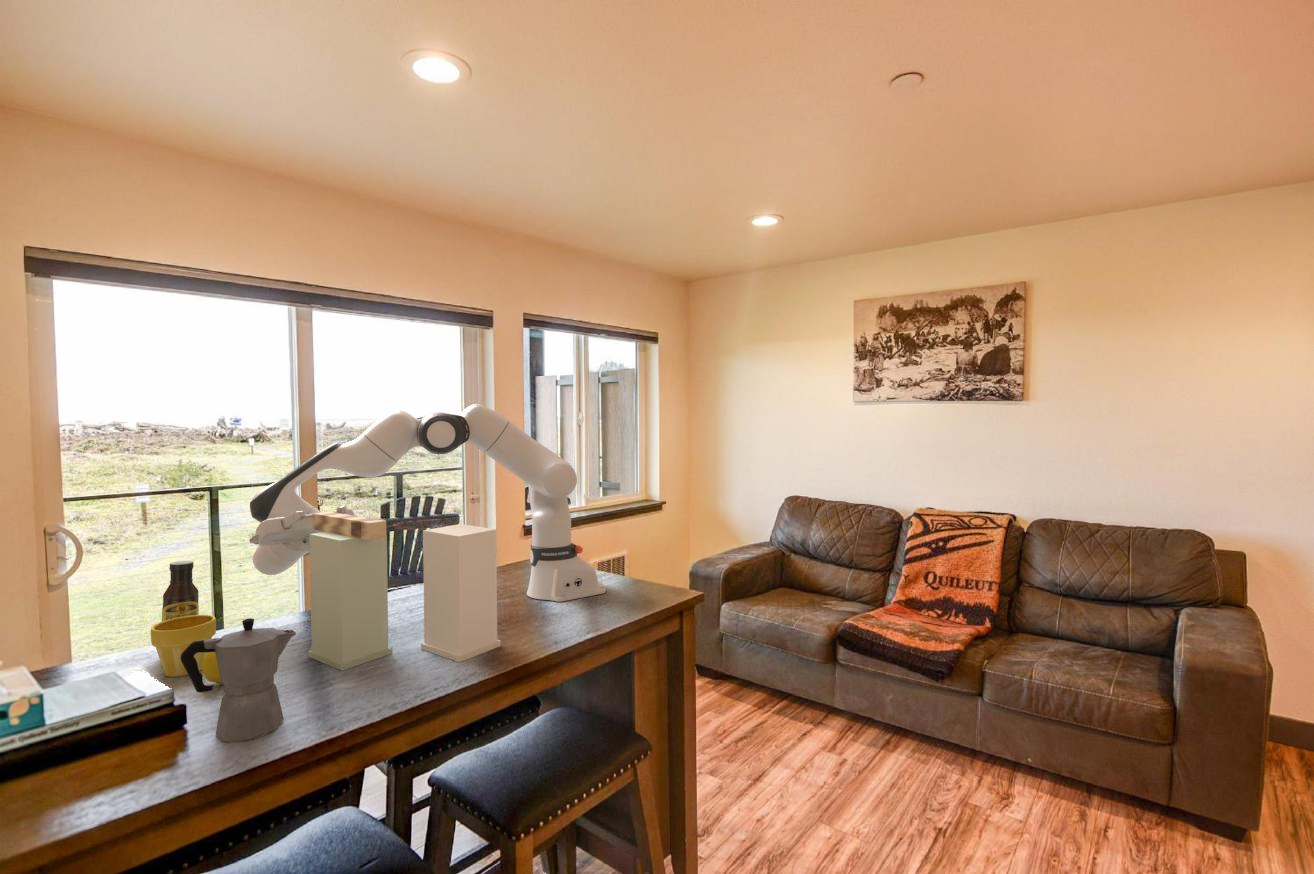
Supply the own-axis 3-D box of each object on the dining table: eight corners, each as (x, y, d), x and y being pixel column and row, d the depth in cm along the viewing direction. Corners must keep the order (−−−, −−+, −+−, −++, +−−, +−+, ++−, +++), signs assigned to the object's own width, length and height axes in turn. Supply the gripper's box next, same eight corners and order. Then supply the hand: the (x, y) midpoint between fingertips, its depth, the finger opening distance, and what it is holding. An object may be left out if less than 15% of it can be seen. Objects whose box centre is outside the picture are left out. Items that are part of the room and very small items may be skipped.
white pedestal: (421, 649, 136) (419, 530, 135) (462, 634, 145) (461, 523, 144) (459, 662, 129) (458, 536, 128) (500, 645, 138) (499, 529, 137)
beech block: (312, 529, 136) (311, 513, 136) (328, 527, 139) (328, 511, 139) (369, 540, 124) (369, 523, 124) (386, 537, 127) (386, 520, 127)
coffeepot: (296, 706, 109) (294, 604, 108) (298, 729, 101) (296, 619, 100) (186, 730, 101) (183, 620, 100) (179, 757, 93) (176, 637, 92)
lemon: (195, 688, 116) (194, 645, 116) (226, 676, 121) (225, 636, 121) (215, 693, 114) (214, 650, 114) (245, 681, 119) (244, 640, 119)
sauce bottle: (162, 663, 128) (159, 567, 127) (160, 654, 133) (158, 562, 132) (201, 655, 132) (199, 562, 132) (198, 647, 137) (196, 557, 136)
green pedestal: (308, 656, 132) (306, 534, 131) (358, 641, 141) (356, 526, 140) (341, 670, 124) (339, 541, 123) (391, 653, 133) (390, 532, 133)
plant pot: (161, 665, 127) (160, 617, 127) (222, 657, 131) (221, 611, 131) (144, 685, 118) (142, 633, 117) (210, 675, 122) (209, 626, 122)
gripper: (242, 530, 136) (268, 503, 129) (334, 518, 153) (362, 494, 146) (249, 557, 134) (276, 531, 128) (342, 542, 151) (370, 518, 145)
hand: (323, 511), depth 137 cm, fingers open, 8 cm apart
